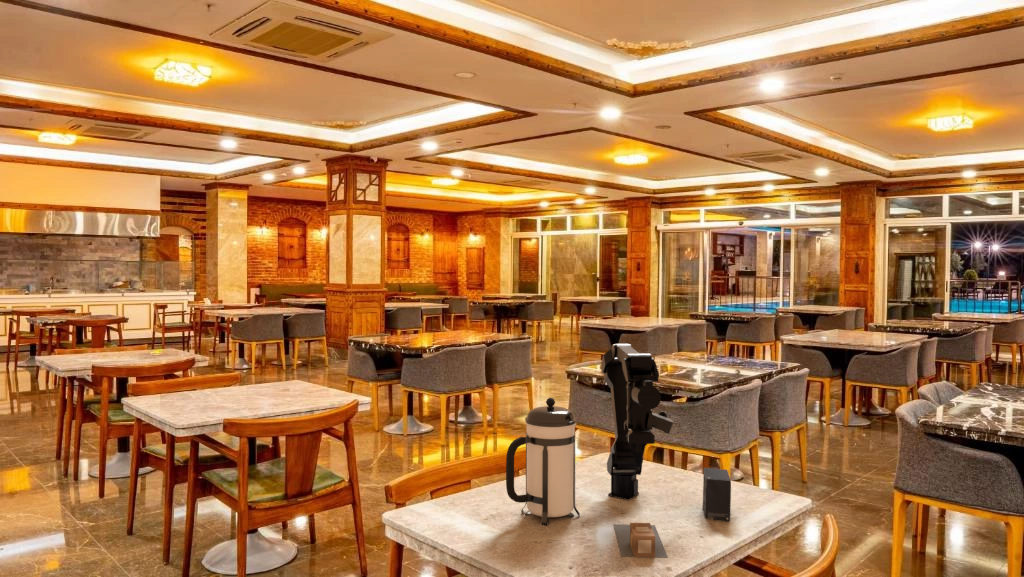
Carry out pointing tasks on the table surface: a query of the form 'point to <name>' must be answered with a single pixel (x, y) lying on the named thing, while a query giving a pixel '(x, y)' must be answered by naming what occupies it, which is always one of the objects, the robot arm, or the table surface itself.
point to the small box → (716, 494)
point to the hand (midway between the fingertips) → (638, 464)
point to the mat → (624, 541)
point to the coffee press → (546, 462)
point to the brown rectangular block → (642, 540)
